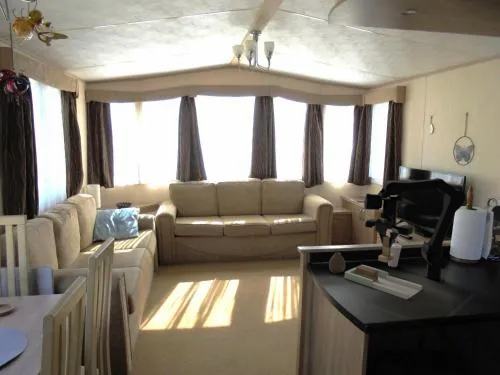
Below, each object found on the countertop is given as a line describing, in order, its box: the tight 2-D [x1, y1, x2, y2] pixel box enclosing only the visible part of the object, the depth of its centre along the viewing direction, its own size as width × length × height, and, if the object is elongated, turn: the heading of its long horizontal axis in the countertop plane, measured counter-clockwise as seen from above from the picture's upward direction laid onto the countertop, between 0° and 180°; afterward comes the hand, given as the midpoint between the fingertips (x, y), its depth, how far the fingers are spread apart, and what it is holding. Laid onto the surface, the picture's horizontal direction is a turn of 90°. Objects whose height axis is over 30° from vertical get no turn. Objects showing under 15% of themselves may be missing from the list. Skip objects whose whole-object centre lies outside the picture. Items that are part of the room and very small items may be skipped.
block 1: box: [355, 264, 370, 277], centre depth 153 cm, size 4×4×4 cm
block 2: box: [364, 267, 380, 282], centre depth 150 cm, size 4×4×4 cm
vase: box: [328, 252, 346, 275], centre depth 160 cm, size 7×7×9 cm
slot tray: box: [344, 264, 423, 300], centre depth 147 cm, size 14×26×4 cm, turn 43°
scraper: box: [377, 235, 394, 263], centre depth 157 cm, size 7×4×10 cm, turn 134°
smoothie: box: [387, 236, 402, 268], centre depth 170 cm, size 6×6×14 cm
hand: (386, 246), depth 157 cm, fingers closed on scraper, 2 cm apart
